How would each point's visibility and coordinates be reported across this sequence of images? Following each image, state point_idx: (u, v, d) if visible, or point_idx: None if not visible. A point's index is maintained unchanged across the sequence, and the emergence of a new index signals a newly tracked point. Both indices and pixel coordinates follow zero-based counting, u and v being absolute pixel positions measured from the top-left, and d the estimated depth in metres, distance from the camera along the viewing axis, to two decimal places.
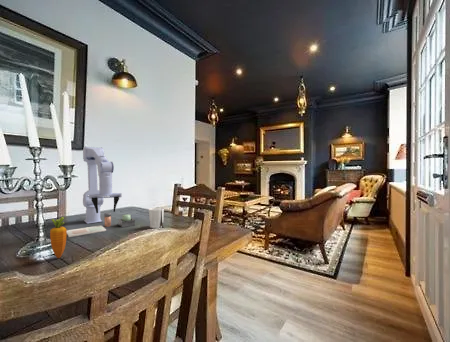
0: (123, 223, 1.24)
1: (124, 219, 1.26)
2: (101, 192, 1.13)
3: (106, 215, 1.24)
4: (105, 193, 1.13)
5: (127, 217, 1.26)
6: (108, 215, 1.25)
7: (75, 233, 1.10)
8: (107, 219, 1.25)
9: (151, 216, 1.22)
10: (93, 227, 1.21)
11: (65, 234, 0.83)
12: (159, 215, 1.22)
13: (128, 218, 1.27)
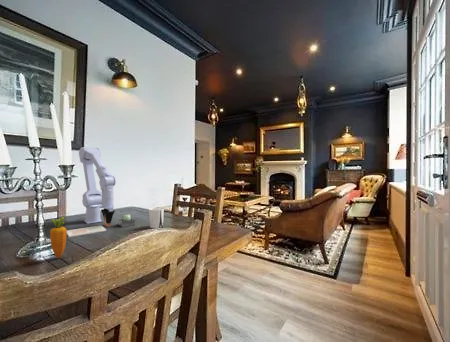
0: (123, 223, 1.24)
1: (124, 219, 1.26)
2: None
3: None
4: None
5: (127, 217, 1.26)
6: None
7: (75, 233, 1.10)
8: None
9: (151, 216, 1.22)
10: (93, 227, 1.21)
11: (65, 234, 0.83)
12: (159, 215, 1.22)
13: (128, 218, 1.27)
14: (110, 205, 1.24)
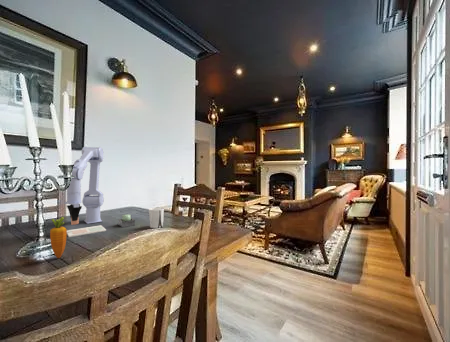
0: (123, 223, 1.24)
1: (124, 219, 1.26)
2: None
3: None
4: (67, 200, 1.11)
5: (127, 217, 1.26)
6: None
7: (75, 233, 1.10)
8: None
9: (151, 216, 1.22)
10: (93, 227, 1.21)
11: (65, 234, 0.83)
12: None
13: (128, 218, 1.27)
14: (76, 200, 1.11)
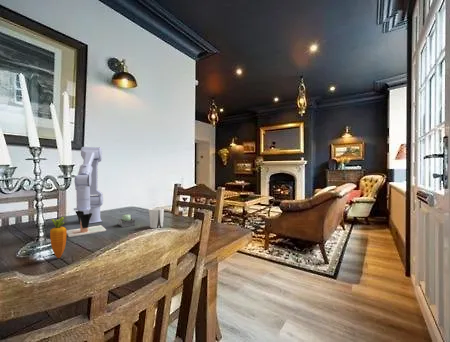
0: (123, 223, 1.24)
1: (124, 219, 1.26)
2: None
3: None
4: None
5: (127, 217, 1.26)
6: None
7: (75, 233, 1.10)
8: None
9: (151, 216, 1.22)
10: (93, 227, 1.21)
11: (65, 234, 0.83)
12: None
13: (128, 218, 1.27)
14: (86, 207, 1.11)
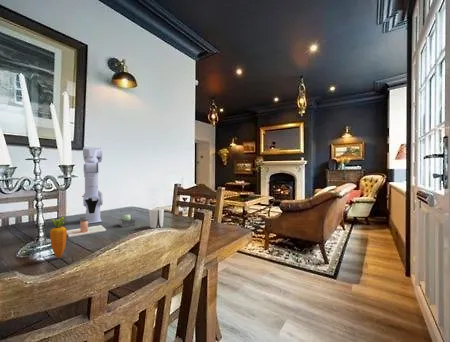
0: (123, 223, 1.24)
1: (124, 219, 1.26)
2: None
3: (82, 219, 1.11)
4: (85, 194, 1.13)
5: (127, 217, 1.26)
6: (84, 219, 1.12)
7: (75, 233, 1.10)
8: (83, 224, 1.12)
9: (151, 216, 1.22)
10: (93, 227, 1.21)
11: (65, 234, 0.83)
12: (159, 215, 1.22)
13: (128, 218, 1.27)
14: (94, 194, 1.14)
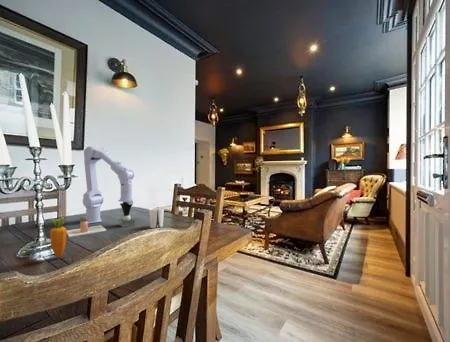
0: (123, 223, 1.24)
1: (124, 219, 1.26)
2: None
3: (82, 219, 1.11)
4: (121, 198, 1.26)
5: (127, 218, 1.26)
6: (84, 219, 1.12)
7: (75, 233, 1.10)
8: (83, 224, 1.12)
9: (151, 216, 1.22)
10: (93, 227, 1.21)
11: (65, 234, 0.83)
12: (159, 215, 1.22)
13: (128, 218, 1.27)
14: (129, 198, 1.26)
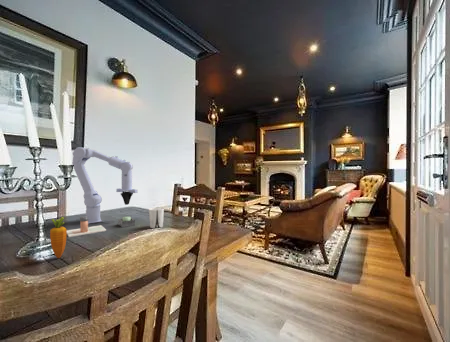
0: (123, 223, 1.24)
1: None
2: None
3: (82, 219, 1.11)
4: (123, 188, 1.35)
5: (127, 220, 1.26)
6: (84, 219, 1.12)
7: (75, 233, 1.10)
8: (83, 224, 1.12)
9: (151, 216, 1.22)
10: (93, 227, 1.21)
11: (65, 234, 0.83)
12: (159, 215, 1.22)
13: (128, 220, 1.27)
14: (131, 188, 1.37)
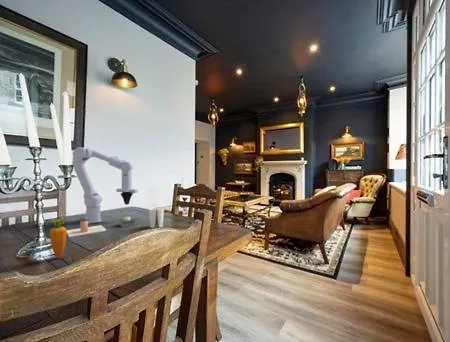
0: (123, 223, 1.24)
1: None
2: None
3: (82, 219, 1.11)
4: (123, 188, 1.35)
5: (127, 220, 1.26)
6: (84, 219, 1.12)
7: (75, 233, 1.10)
8: (83, 224, 1.12)
9: (151, 216, 1.22)
10: (93, 227, 1.21)
11: (65, 234, 0.83)
12: (159, 215, 1.22)
13: (128, 220, 1.27)
14: (131, 188, 1.37)
